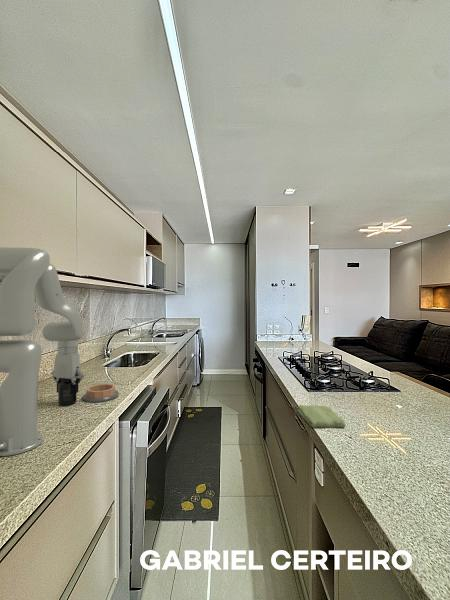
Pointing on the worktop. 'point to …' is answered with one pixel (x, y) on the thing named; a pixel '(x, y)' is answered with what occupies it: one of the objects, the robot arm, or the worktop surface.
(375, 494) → the worktop surface
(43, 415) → the worktop surface
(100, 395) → the bottle holder
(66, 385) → the supplement bottle
